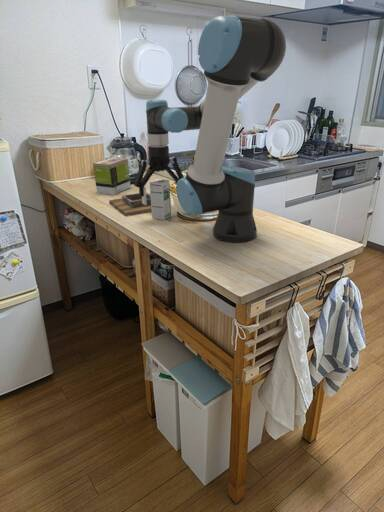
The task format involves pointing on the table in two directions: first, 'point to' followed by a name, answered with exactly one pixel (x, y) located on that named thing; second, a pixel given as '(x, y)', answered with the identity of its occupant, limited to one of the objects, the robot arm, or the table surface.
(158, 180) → the syrup box
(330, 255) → the table surface
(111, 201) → the wooden tray on board
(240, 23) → the robot arm
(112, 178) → the tea box
